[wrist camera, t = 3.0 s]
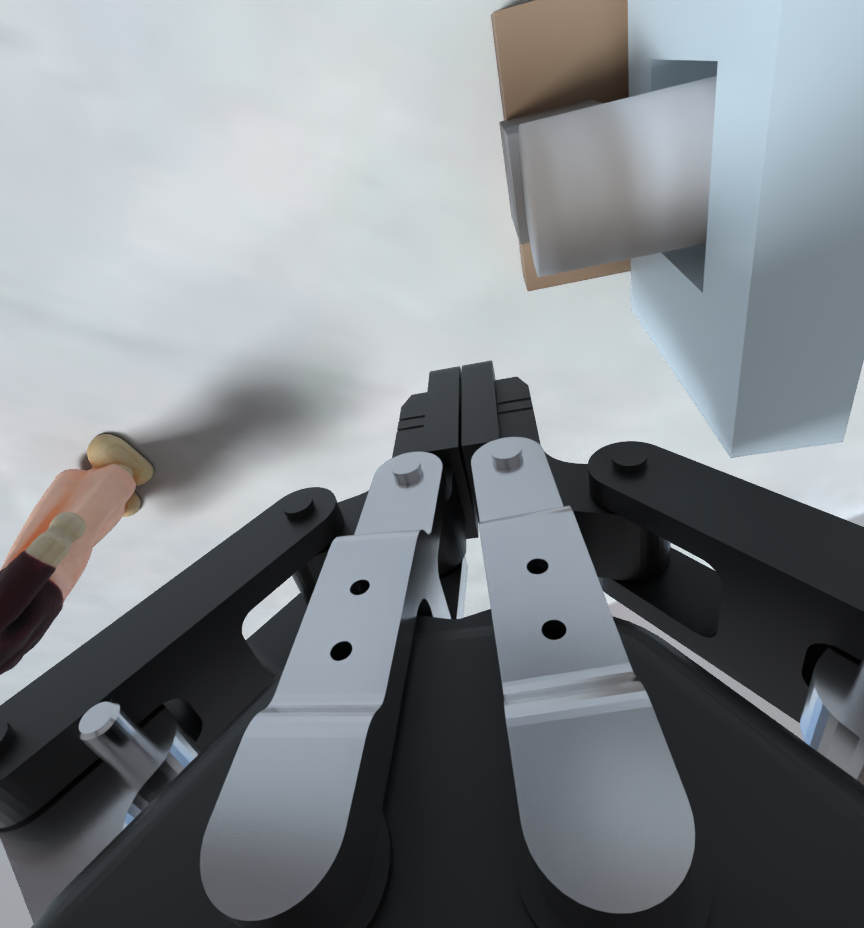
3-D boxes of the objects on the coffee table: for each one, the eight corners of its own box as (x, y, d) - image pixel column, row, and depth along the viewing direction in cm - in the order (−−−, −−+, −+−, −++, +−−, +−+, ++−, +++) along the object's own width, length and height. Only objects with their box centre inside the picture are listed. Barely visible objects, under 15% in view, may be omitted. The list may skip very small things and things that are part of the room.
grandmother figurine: (70, 400, 22) (-257, 690, 12) (167, 433, 23) (-63, 733, 13) (64, 527, 27) (-181, 821, 16) (146, 552, 27) (-40, 847, 17)
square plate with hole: (626, -88, 12) (810, -244, 6) (724, -117, 12) (1034, -316, 5) (631, 310, 17) (730, 457, 11) (699, 297, 17) (842, 441, 11)
